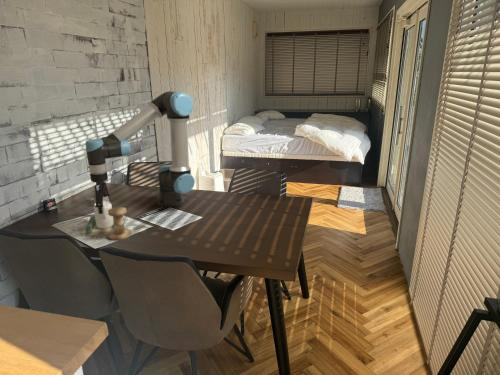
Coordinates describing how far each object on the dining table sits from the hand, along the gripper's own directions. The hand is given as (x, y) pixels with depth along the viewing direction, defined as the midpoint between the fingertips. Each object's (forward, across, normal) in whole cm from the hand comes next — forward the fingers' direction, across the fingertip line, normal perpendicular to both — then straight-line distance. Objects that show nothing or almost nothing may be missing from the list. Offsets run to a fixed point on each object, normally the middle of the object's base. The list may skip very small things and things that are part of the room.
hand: (104, 214), depth 170 cm
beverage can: (+7, 0, 0) cm, 7 cm away
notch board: (+8, -1, 0) cm, 8 cm away
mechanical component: (+8, -17, -7) cm, 20 cm away
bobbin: (+8, +10, +8) cm, 15 cm away
